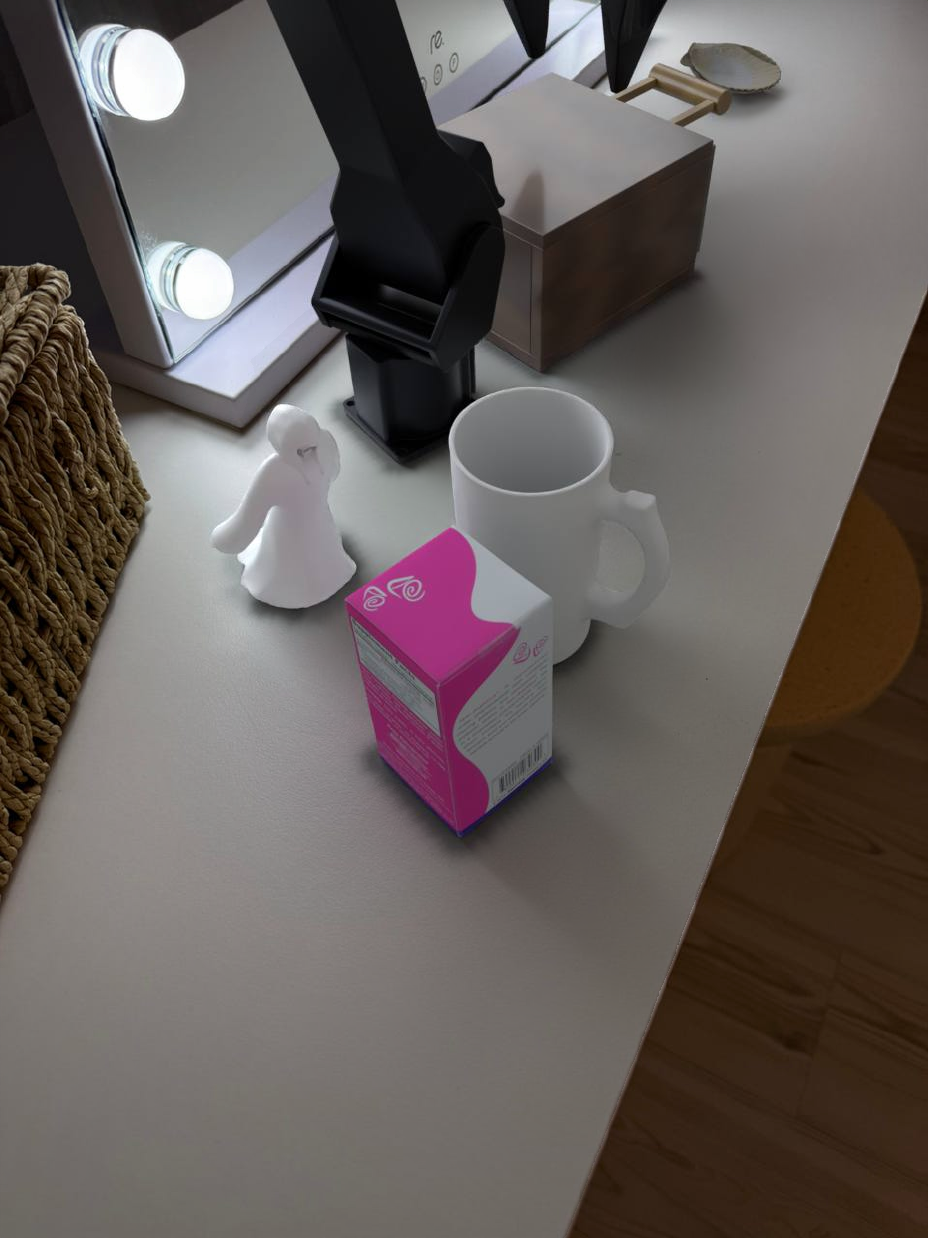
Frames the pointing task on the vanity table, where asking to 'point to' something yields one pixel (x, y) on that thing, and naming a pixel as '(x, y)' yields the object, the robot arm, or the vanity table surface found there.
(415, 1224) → the vanity table surface
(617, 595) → the mug
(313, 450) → the figurine
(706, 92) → the drawer
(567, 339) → the cabinet
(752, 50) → the seashell
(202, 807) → the vanity table surface
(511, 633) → the supplement box
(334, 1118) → the vanity table surface
